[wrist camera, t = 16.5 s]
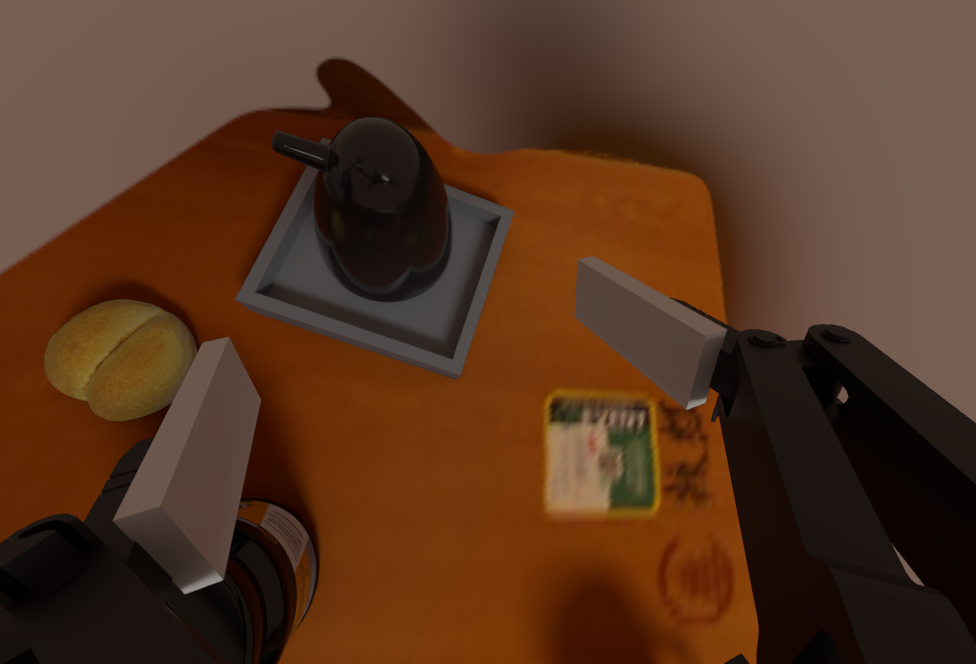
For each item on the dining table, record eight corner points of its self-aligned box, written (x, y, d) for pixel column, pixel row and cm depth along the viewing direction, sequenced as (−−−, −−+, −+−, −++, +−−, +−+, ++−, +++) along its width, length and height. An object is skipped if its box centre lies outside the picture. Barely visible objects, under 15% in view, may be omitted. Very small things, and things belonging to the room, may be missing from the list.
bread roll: (148, 439, 29) (107, 441, 25) (46, 372, 29) (-11, 363, 25) (229, 350, 31) (203, 338, 27) (135, 287, 31) (96, 267, 27)
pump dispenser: (333, 203, 35) (276, 40, 20) (449, 215, 36) (474, 74, 22) (321, 312, 32) (245, 215, 18) (446, 319, 34) (471, 236, 19)
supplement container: (329, 491, 30) (277, 528, 19) (317, 649, 27) (249, 807, 16) (175, 498, 28) (11, 545, 17) (147, 670, 25) (-69, 865, 14)
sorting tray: (251, 311, 32) (235, 299, 29) (329, 159, 37) (322, 137, 34) (456, 379, 34) (460, 375, 31) (506, 227, 38) (514, 210, 36)
